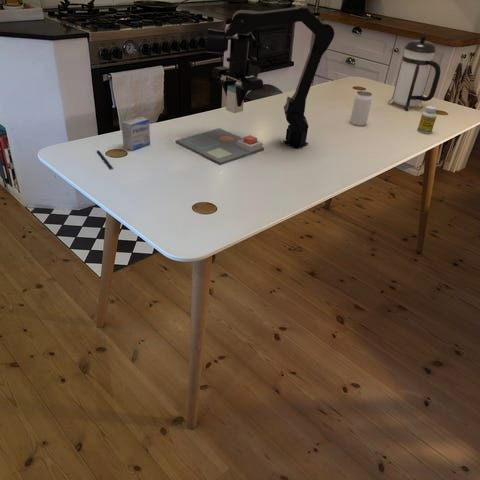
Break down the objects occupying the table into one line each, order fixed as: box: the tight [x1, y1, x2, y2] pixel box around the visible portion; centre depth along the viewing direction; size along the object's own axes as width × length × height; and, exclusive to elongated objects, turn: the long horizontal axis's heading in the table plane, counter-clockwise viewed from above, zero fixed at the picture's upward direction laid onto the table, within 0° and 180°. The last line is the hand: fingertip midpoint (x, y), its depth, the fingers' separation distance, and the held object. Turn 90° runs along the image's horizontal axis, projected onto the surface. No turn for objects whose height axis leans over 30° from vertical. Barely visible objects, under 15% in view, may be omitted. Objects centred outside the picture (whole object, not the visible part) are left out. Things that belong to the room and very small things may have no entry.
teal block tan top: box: [225, 83, 245, 114], centre depth 153 cm, size 4×4×8 cm
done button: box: [243, 134, 258, 145], centre depth 153 cm, size 3×3×2 cm
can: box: [349, 90, 373, 127], centre depth 181 cm, size 6×6×12 cm
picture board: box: [175, 127, 265, 166], centre depth 155 cm, size 22×20×3 cm
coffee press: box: [388, 34, 441, 112], centre depth 199 cm, size 17×16×30 cm
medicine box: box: [120, 116, 151, 152], centre depth 148 cm, size 8×4×9 cm, turn 143°
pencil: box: [96, 150, 114, 170], centre depth 141 cm, size 1×1×15 cm
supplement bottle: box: [417, 105, 438, 135], centre depth 179 cm, size 5×5×10 cm
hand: (234, 104), depth 154 cm, fingers closed on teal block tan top, 4 cm apart
